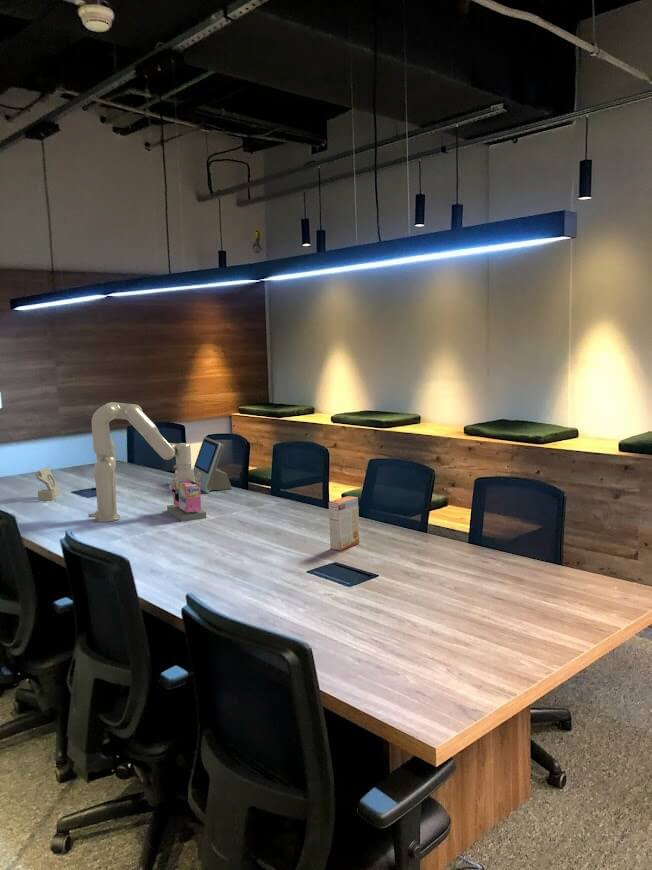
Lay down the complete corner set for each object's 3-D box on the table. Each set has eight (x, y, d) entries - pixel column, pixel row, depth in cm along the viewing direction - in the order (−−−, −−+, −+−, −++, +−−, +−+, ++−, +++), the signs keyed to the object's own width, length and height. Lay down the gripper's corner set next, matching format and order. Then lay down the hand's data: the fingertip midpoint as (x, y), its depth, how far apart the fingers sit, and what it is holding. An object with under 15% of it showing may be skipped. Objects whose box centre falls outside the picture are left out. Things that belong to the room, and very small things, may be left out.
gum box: (172, 503, 382) (171, 478, 380) (186, 501, 385) (185, 477, 384) (186, 512, 361) (185, 486, 359) (201, 510, 365) (200, 484, 363)
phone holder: (53, 501, 414) (51, 471, 412) (36, 502, 414) (34, 471, 412) (65, 495, 431) (63, 466, 429) (49, 495, 432) (46, 466, 429)
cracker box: (349, 541, 317) (348, 495, 315) (359, 543, 314) (359, 496, 311) (329, 549, 307) (327, 501, 304) (340, 551, 303) (339, 503, 300)
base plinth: (181, 521, 361) (181, 515, 360) (167, 510, 385) (167, 505, 384) (206, 517, 367) (206, 512, 366) (190, 507, 390) (190, 502, 390)
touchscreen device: (188, 484, 456) (187, 437, 453) (218, 482, 464) (217, 436, 461) (203, 494, 425) (202, 444, 421) (234, 491, 433) (234, 442, 429)
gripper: (169, 469, 365) (170, 503, 367) (202, 466, 373) (203, 499, 375) (165, 467, 372) (167, 500, 374) (197, 464, 380) (199, 496, 382)
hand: (185, 499), depth 375 cm, fingers closed on gum box, 8 cm apart
